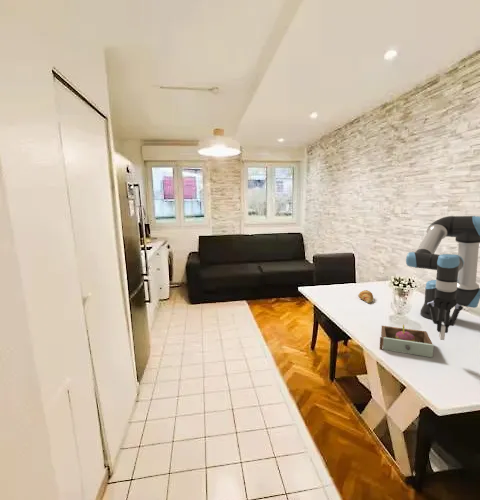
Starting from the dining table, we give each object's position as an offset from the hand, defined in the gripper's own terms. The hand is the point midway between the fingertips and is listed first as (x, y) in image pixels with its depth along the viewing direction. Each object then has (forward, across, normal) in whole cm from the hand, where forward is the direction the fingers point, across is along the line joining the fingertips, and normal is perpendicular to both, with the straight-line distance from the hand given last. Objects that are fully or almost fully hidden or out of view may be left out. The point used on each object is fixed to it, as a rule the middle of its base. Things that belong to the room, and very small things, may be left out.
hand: (441, 338), depth 122 cm
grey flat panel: (+10, +13, 0) cm, 16 cm away
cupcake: (+10, +13, -8) cm, 19 cm away
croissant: (+12, +30, -76) cm, 83 cm away
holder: (+10, +14, -7) cm, 19 cm away
